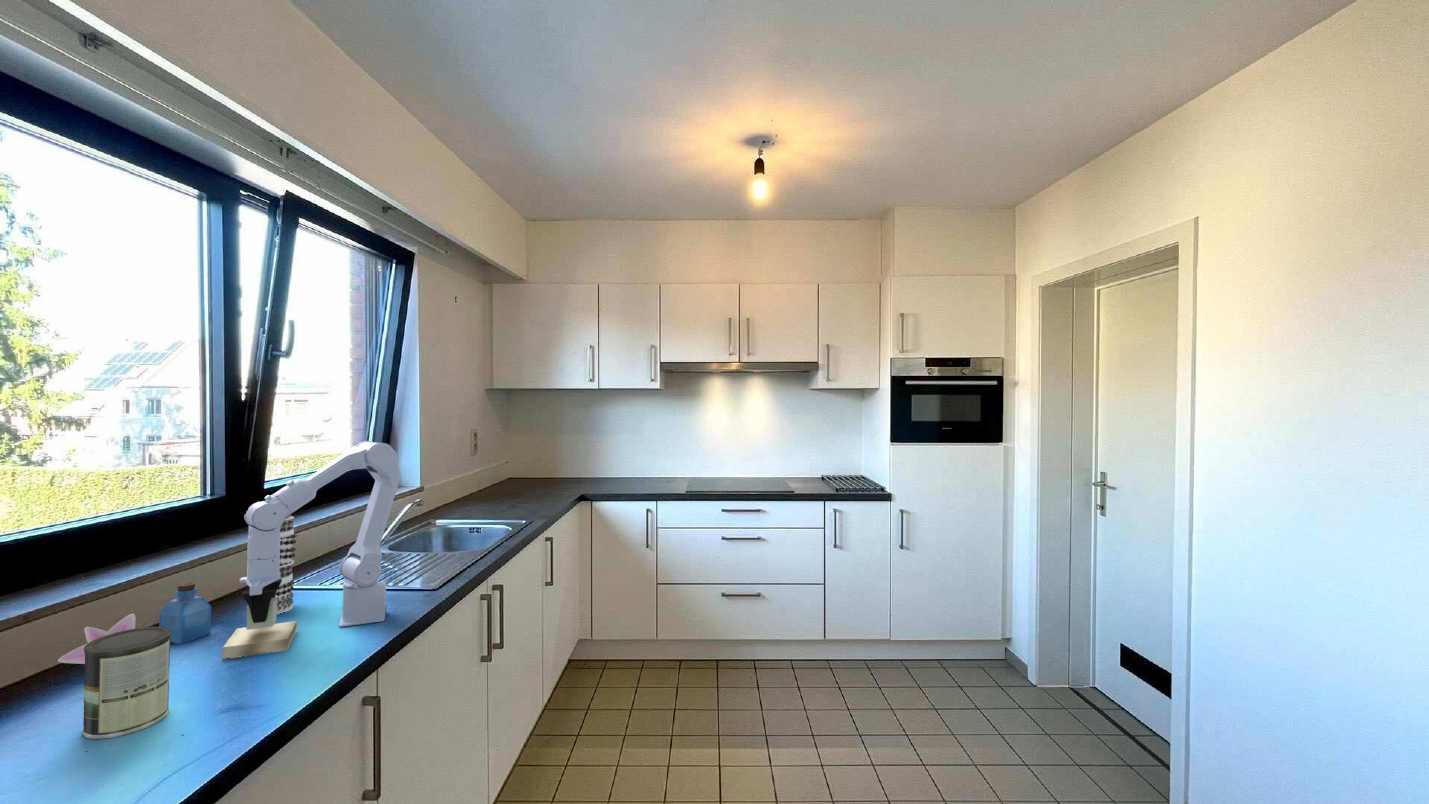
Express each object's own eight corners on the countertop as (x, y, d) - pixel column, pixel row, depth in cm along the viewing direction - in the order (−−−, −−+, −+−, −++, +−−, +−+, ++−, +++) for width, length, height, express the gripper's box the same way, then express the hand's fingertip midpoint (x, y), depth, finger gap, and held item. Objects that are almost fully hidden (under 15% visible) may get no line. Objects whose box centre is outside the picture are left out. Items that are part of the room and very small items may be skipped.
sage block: (276, 619, 131) (277, 597, 131) (272, 626, 127) (272, 603, 127) (251, 622, 129) (252, 600, 129) (246, 629, 125) (247, 606, 125)
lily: (43, 692, 108) (53, 653, 106) (84, 644, 118) (94, 608, 116) (126, 699, 113) (137, 662, 111) (158, 652, 123) (169, 618, 121)
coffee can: (61, 740, 91) (64, 651, 91) (122, 706, 102) (124, 626, 102) (132, 739, 92) (134, 651, 92) (185, 705, 103) (187, 626, 103)
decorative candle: (282, 616, 144) (284, 516, 144) (240, 617, 143) (243, 516, 143) (302, 603, 153) (304, 509, 153) (263, 604, 152) (266, 509, 152)
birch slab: (296, 633, 135) (296, 621, 135) (287, 652, 125) (287, 638, 125) (236, 641, 130) (237, 628, 130) (222, 661, 120) (222, 647, 120)
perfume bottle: (180, 644, 127) (182, 589, 127) (158, 641, 129) (160, 587, 129) (210, 633, 133) (211, 581, 133) (189, 630, 135) (190, 579, 135)
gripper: (248, 550, 132) (247, 609, 132) (231, 567, 120) (230, 632, 120) (286, 547, 136) (285, 605, 136) (274, 563, 123) (272, 627, 123)
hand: (262, 618), depth 128 cm, fingers closed on sage block, 4 cm apart
